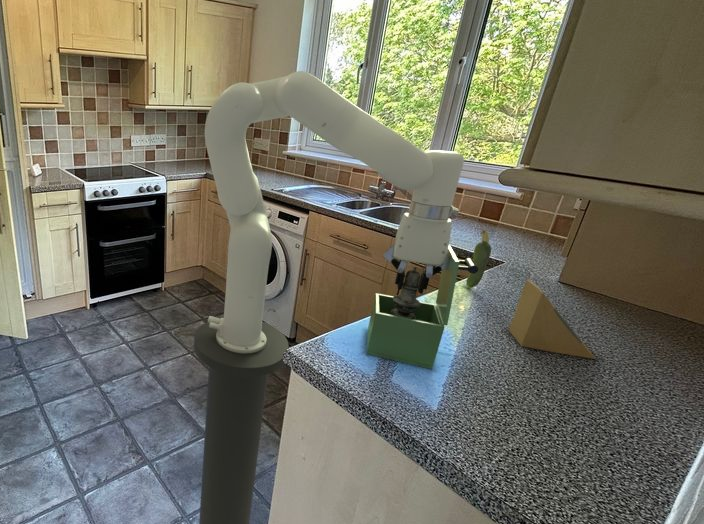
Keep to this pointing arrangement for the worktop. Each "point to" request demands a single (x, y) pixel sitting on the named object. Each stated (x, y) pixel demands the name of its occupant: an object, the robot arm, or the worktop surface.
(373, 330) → the waste bin
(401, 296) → the dark grey rounded piece
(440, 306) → the bin lid
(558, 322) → the sandwich container
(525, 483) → the worktop surface
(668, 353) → the worktop surface
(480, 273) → the vegetable
